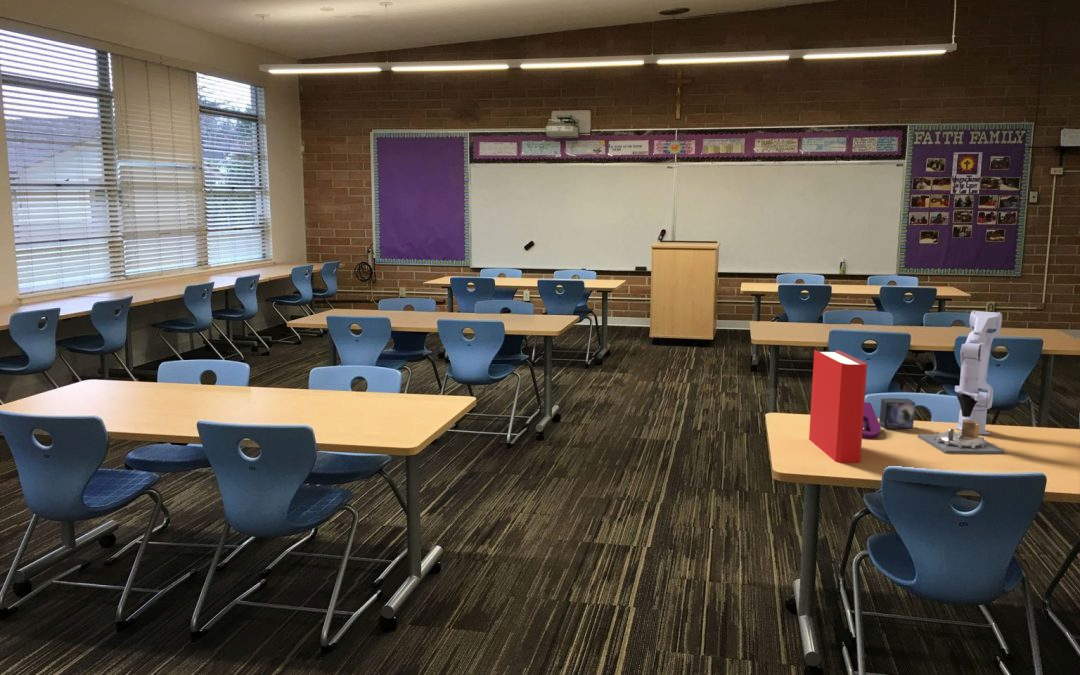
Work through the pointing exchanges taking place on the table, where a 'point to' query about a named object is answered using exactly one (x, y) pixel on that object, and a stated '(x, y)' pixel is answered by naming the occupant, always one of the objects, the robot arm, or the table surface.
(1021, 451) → the table surface
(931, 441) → the base plate
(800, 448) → the table surface
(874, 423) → the mounting bracket
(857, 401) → the book
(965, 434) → the link block
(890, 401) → the small box
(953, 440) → the sprocket
